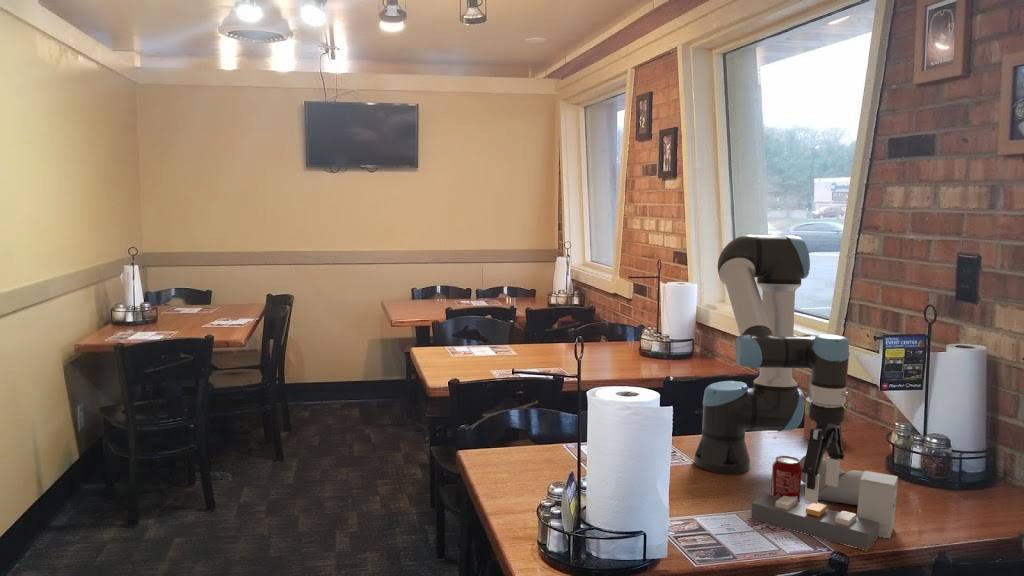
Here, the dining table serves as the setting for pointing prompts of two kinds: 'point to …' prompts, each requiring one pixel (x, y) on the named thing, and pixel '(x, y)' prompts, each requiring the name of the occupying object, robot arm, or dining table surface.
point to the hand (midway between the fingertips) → (821, 493)
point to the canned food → (809, 420)
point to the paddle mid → (816, 509)
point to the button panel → (816, 521)
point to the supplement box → (878, 500)
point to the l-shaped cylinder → (846, 485)
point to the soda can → (786, 477)
